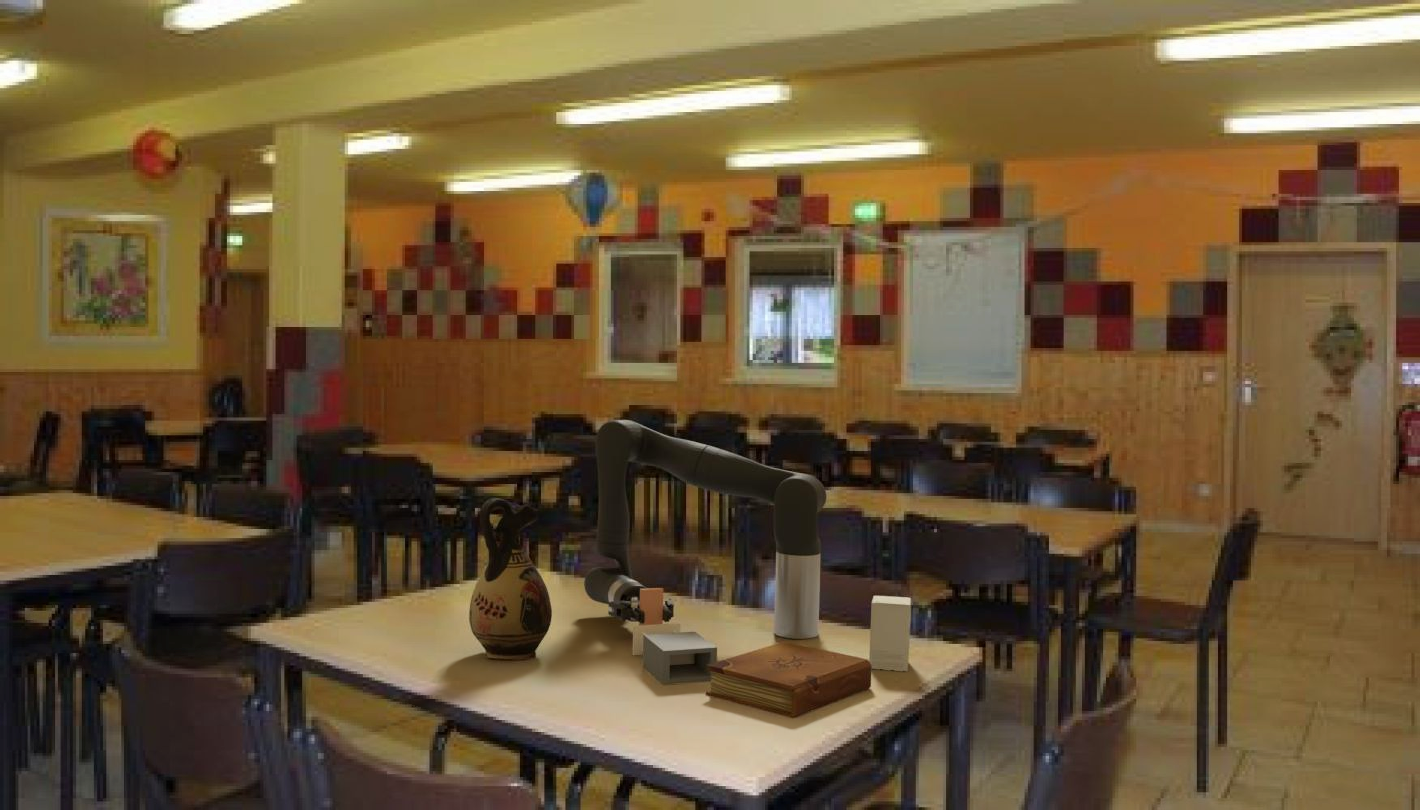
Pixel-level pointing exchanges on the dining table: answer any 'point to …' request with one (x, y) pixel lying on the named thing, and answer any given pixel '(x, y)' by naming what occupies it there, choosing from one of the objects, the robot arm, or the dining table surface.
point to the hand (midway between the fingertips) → (655, 617)
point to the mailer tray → (656, 624)
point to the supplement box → (890, 633)
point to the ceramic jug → (509, 589)
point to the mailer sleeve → (668, 644)
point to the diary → (788, 678)
